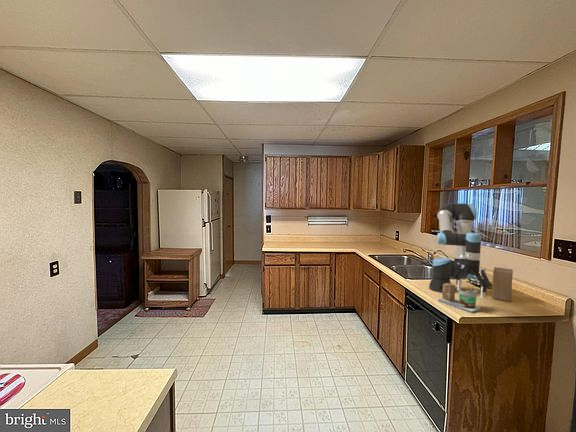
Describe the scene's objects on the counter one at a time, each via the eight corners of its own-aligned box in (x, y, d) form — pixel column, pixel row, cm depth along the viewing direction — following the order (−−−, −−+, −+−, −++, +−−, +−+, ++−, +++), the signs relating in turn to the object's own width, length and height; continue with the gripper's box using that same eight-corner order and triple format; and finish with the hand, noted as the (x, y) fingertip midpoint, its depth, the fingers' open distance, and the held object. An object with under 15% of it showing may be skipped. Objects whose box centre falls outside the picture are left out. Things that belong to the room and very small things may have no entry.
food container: (466, 310, 163) (467, 293, 162) (457, 306, 169) (458, 290, 168) (482, 308, 166) (483, 291, 166) (473, 304, 172) (474, 288, 172)
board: (438, 301, 181) (438, 299, 181) (447, 299, 185) (447, 297, 185) (471, 313, 162) (471, 310, 162) (481, 310, 166) (481, 308, 166)
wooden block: (492, 295, 195) (494, 266, 193) (511, 298, 188) (512, 269, 187) (491, 298, 187) (493, 269, 186) (510, 302, 180) (512, 272, 179)
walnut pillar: (442, 299, 181) (442, 284, 180) (447, 298, 183) (447, 283, 182) (449, 301, 176) (450, 286, 176) (454, 300, 179) (455, 285, 178)
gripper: (448, 255, 175) (446, 288, 177) (491, 264, 153) (489, 301, 155) (455, 254, 179) (453, 286, 180) (499, 262, 157) (497, 299, 158)
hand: (470, 293), depth 168 cm, fingers open, 13 cm apart
